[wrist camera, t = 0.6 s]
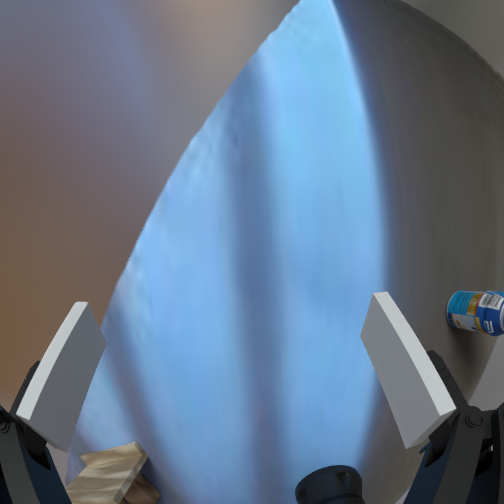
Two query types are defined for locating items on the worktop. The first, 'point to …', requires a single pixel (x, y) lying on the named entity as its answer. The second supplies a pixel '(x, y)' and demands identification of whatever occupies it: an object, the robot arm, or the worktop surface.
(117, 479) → the wall board
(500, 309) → the beverage bottle
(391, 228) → the worktop surface
